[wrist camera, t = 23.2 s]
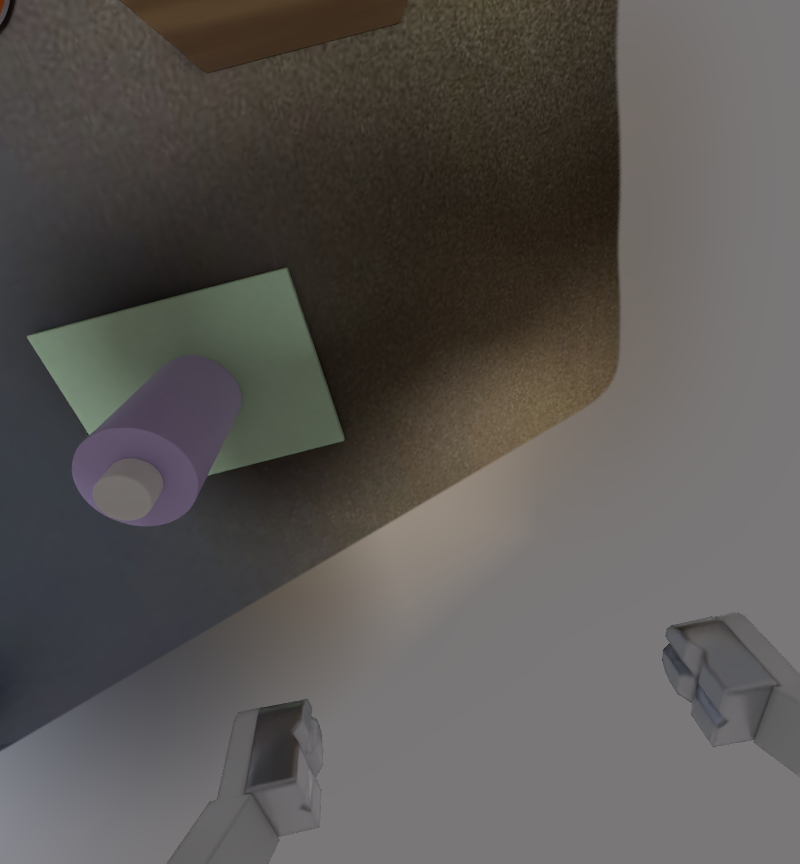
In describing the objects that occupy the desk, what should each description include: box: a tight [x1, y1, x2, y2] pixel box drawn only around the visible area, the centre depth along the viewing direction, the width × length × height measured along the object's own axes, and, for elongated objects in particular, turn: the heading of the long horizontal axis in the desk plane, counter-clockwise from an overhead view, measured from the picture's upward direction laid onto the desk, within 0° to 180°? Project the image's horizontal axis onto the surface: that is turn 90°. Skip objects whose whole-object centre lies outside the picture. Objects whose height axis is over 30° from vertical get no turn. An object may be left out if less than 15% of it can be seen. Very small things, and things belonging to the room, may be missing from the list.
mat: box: [27, 267, 344, 475], centre depth 30 cm, size 16×12×1 cm
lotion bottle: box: [72, 356, 241, 526], centre depth 25 cm, size 5×5×12 cm
